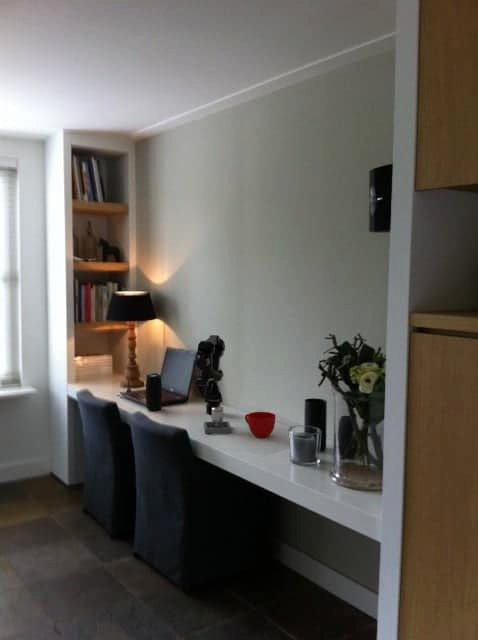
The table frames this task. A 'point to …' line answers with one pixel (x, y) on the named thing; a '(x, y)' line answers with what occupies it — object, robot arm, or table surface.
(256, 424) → the ceramic cup
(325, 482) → the table surface
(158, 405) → the portable speaker
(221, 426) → the grey cylinder
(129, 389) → the eiffel tower figurine
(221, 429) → the duct collar
